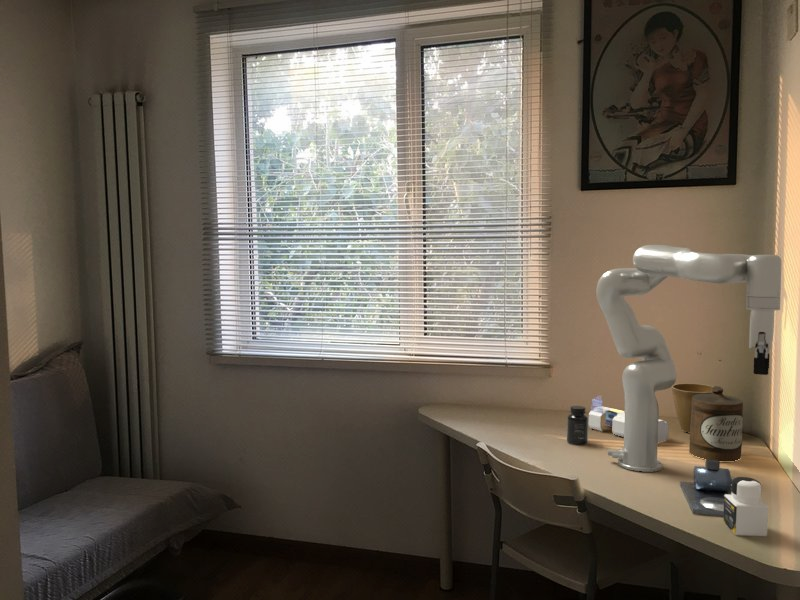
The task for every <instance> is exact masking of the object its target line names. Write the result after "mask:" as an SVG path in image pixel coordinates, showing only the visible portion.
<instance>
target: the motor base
mask: <svg viewBox="0 0 800 600" xmlns="http://www.w3.org/2000/svg"><path fill="white" fill-rule="evenodd" d="M720 466H721V462H719V461H718V460H714V459H706V460H705V466H694V468H693V482H692V481H690V482H689V481H681V480H680V481H679V486H680V489H681V491H682V493H683V496H684V498H685V499H686V502H687V504H688V506H689V509H690V510H691V513H692V514H693V515H701V516H712V517H713V516H715V517H722V518H723V515H724V495H725V494H730V495H732V480H733V479H734V478H735V477H731V471H730V469H729V468H725V467H724V468H721V467H720Z"/></svg>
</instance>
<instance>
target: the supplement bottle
mask: <svg viewBox="0 0 800 600" xmlns="http://www.w3.org/2000/svg"><path fill="white" fill-rule="evenodd" d="M586 413H587V411H586V407H585V406H582V405H573V406H571V405H570V414H568V415H567V419H566V442H567V443H568V444H570V445H575V446H585V445H587V444H588V442H589V441H588V440H589V416H587V415H586Z"/></svg>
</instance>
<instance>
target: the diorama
mask: <svg viewBox="0 0 800 600" xmlns="http://www.w3.org/2000/svg"><path fill="white" fill-rule="evenodd" d="M591 402H592V405H590V409H591V410H590V411H589V413H588V428H589V429H590V428H593V429H597V430H600V431H602V432H603V430H602V427H601V424H602V416H603V415H605V421H604V424H607V425H610V426H612V427H611V431H612V434H613V435H614V434H615V435H618V436H617V437H619V436H622V437H624V424H625V410H620V409H616V408H611V407H608V406H607V407H606V406H603V402H604V401H603V400H602V396H601V395H597V397H594V398H592V399H591ZM669 425H670V424H669V423H668V422H667V421H665V420H663V419H659V418H658V442H661V441H664V440H666V441H668V438H669ZM600 431H599V432H600ZM615 435H614V436H615ZM622 437H621V438H622Z"/></svg>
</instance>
